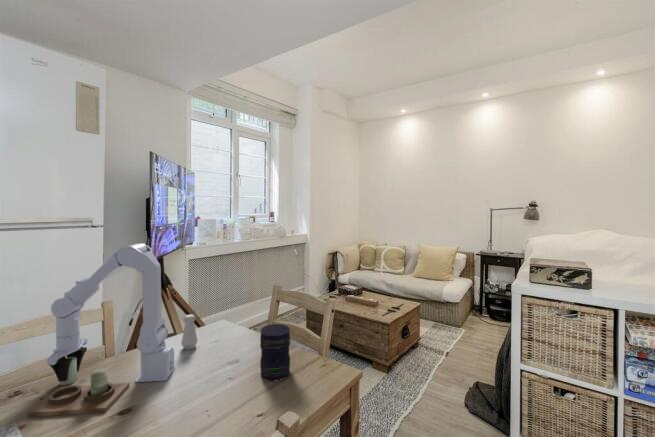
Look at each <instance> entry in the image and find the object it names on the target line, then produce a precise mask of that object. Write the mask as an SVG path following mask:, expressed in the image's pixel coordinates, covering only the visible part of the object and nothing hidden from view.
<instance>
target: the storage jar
mask: <svg viewBox="0 0 655 437" xmlns="http://www.w3.org/2000/svg"><path fill="white" fill-rule="evenodd" d="M290 329H291V328H290V327H289V326H288V325H285V324H281V323H279V324H278V323H276V324H269V325H265V326H263V327H262V328H260V340H259V341H260V345H259V346H260V350H261V357H260V364H259V366H260V367H259V368H260V378H261V379H262V378H264V379H266V380H269V381H268V382H276V381H275V380H280V379H283V378H285V377H287V376H288V375H289V376H290V374H289V373H290V368H291V355H290V346H291V334H290V331H291V330H290ZM289 376H288V377H289ZM288 377H287V378H288ZM264 379H263V380H264ZM285 379H286V378H285ZM266 380H265V381H266ZM283 380H284V379H283ZM280 381H281V380H280Z"/></svg>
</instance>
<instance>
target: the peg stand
mask: <svg viewBox="0 0 655 437" xmlns="http://www.w3.org/2000/svg"><path fill="white" fill-rule="evenodd" d="M128 388H130V382H121V383H111V382H109V368H107V367H99V368H97V369H95V370H93V371H91V373H90V384H87V385H86V384H85V385H82V384H81V385H76V384H74V385H63V386H61V387H60V388H59V389H56V390H55V391H53V392H52V393H50V394H49V395H48V397H46V398H45V399H44V400H42V401H41V402H39V404H37V405H36V406H35V407H33V408H32V409H31V410H30V411H28V412H27V417H28V418H36V417H37V418H38V417H53V416H66V415H80V414H81V415H82V414H95V413H96V414H99V413H107V411H108V410H109V409H110V408H112V406H113V405H114V404H115V403H116V402H117V401H118V400H119V399H120V398H121V396H123V394H124V393H125V392H127V390H128Z"/></svg>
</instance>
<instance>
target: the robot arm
mask: <svg viewBox="0 0 655 437" xmlns="http://www.w3.org/2000/svg"><path fill="white" fill-rule="evenodd" d="M121 267H127V268H131V269H133V270H136V271H137V272H139V273H140V274H141V275H142V278H141V279H142V280H141V281H142V282H141V284H142V287H141V288H142V323H141V327H140V330H139V337H138V339H137V342H136V347H137V349H138V351H139V352H140V375H138V377H137V378H136V379H135V380H134V382H135V383H143V382H144V383H147V382H162V381H163V382H164V381H167V379H169V377H170V376H171V375H172V373H173V372H174V370H175V369H176V366H175V349H174V348H173V347H169V346H167V345H166V342H165V341H166V339H167V337H168V335H169V328H167V326H166V320H165V319H163V318H162V275H161V274H162V269H161V268H162V267H161V263H160V262H159V261H158V259H157V257H156V256H155V255H154V253H153V248H151V247H150V246H149V245H146V243H143V242H142V243H141V242H137V243H135V244H131V245H124V246H122V247H120V248H119V249H118V250H117V251H115V252H114V253H112V255H110V257H109V258H108V259H107V260H106V261H105V262H104V263H103V264H101V266H100V267H99V268H98V269H97V270H96V271H95V272H93V274H92V275H91V276H90V277H83V278H82V279H81V278H80V279H78V280H77V281H75V285H74V286H73V287H72V288H71V289H69V291H68V290H67V291H66V292H64V293H63V294H64V296H63V297H60V298H57V299H55V300H54V302H53V303H52V304H51V307H50V311H51V312H50V313H52V314H51V315H53V316H54V317H55V341H56V342H55V343H56V344H55V346H56V347H54V348H53V349H52V354H51V355H50V356H49V357H48V358H46V366H50V368H51V369H52V370H53V371H54V374H55V375H56V378H57V381H58V382H60V381H66V380H67V379H68V372H69V366H70V363H71V361H72V359H67V358H69V357H76V358H77V373H78V372H79V371H80V367H81V364H82V361H83V358H84V356H85V354H86V353H87V351H88V348H87V347H86V346H85V345H87V344H88V338H87V337H85V338H84V337H83V338H81V334H80V333H81V330H80V329H81V328H80V326H81V323H80V320H81V318H80V315H81V310H82V308H83V307H84V306H85V303H86V302H88V300H89V299H91V298H92V297H93V296H94V295H95V294H96V293H97V292H98V291H99V290H100V284H101V283H102V282H103V281H104V280H105V279H107V278H108V277H109V276H110V275H111V274H113V273H114V272H116V270H117V269H119V268H121ZM83 346H85V347H83Z"/></svg>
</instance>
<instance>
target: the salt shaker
mask: <svg viewBox="0 0 655 437" xmlns="http://www.w3.org/2000/svg"><path fill="white" fill-rule="evenodd" d="M195 321H196V316H195V314H191V313H190V314H186V315H185V316H184V317H183V323H184V327H183V334H182V339H181V347H182V348H183V350H184V349H186V350H185V351H190V350H189V349H191V350H193V349H192V348H194V347H195V348H196V346H197V344H198V337H197V332H196V327H195ZM195 348H194V349H195Z"/></svg>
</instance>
